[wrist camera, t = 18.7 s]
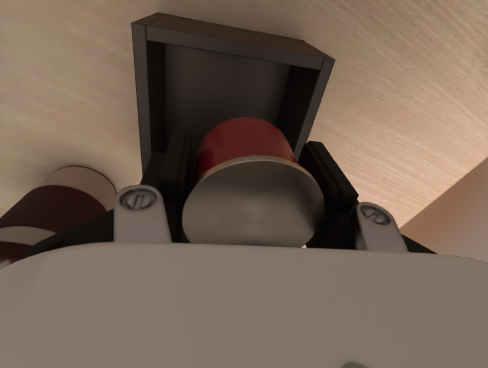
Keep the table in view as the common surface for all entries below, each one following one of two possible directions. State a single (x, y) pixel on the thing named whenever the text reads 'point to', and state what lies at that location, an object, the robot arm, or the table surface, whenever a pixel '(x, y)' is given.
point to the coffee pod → (250, 189)
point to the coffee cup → (54, 209)
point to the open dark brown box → (221, 81)
